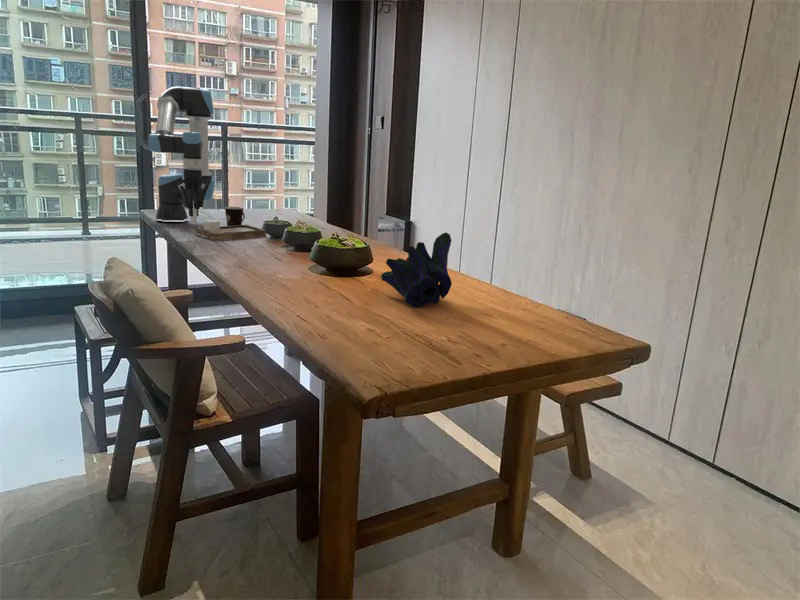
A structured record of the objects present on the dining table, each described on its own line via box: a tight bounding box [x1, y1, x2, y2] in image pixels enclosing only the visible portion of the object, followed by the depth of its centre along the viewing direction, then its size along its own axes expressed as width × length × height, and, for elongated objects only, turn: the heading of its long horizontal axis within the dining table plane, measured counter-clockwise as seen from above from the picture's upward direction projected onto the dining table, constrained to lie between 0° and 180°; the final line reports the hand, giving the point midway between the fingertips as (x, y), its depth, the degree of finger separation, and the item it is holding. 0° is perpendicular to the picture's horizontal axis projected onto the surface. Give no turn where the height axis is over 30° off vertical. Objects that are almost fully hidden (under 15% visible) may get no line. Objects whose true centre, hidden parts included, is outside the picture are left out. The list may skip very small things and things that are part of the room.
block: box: [203, 219, 221, 233], centre depth 277 cm, size 5×5×5 cm
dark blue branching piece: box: [380, 231, 453, 309], centre depth 196 cm, size 21×26×30 cm
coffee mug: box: [224, 206, 246, 226], centre depth 300 cm, size 12×9×10 cm
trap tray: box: [195, 224, 267, 241], centre depth 283 cm, size 17×26×3 cm, turn 135°
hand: (193, 223), depth 272 cm, fingers closed
